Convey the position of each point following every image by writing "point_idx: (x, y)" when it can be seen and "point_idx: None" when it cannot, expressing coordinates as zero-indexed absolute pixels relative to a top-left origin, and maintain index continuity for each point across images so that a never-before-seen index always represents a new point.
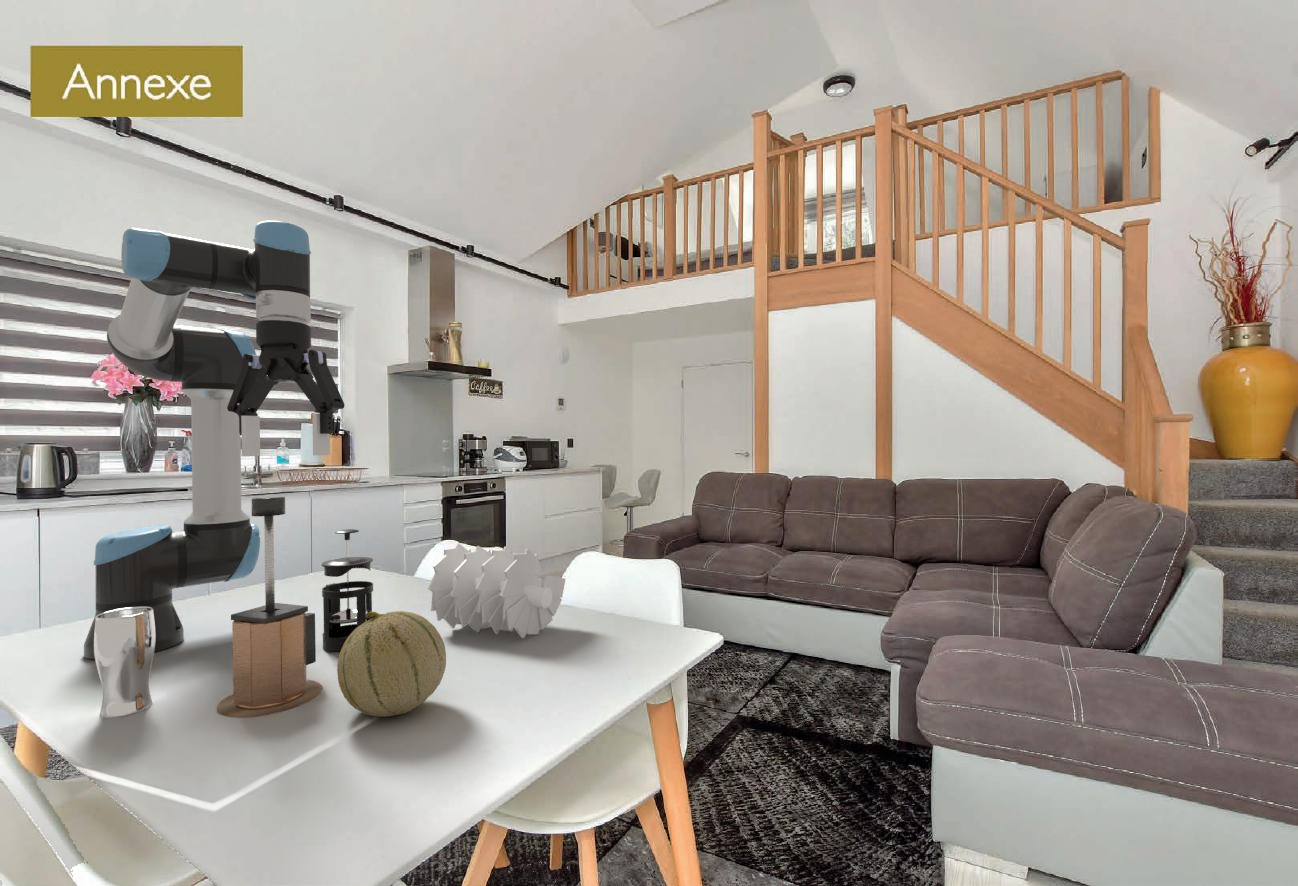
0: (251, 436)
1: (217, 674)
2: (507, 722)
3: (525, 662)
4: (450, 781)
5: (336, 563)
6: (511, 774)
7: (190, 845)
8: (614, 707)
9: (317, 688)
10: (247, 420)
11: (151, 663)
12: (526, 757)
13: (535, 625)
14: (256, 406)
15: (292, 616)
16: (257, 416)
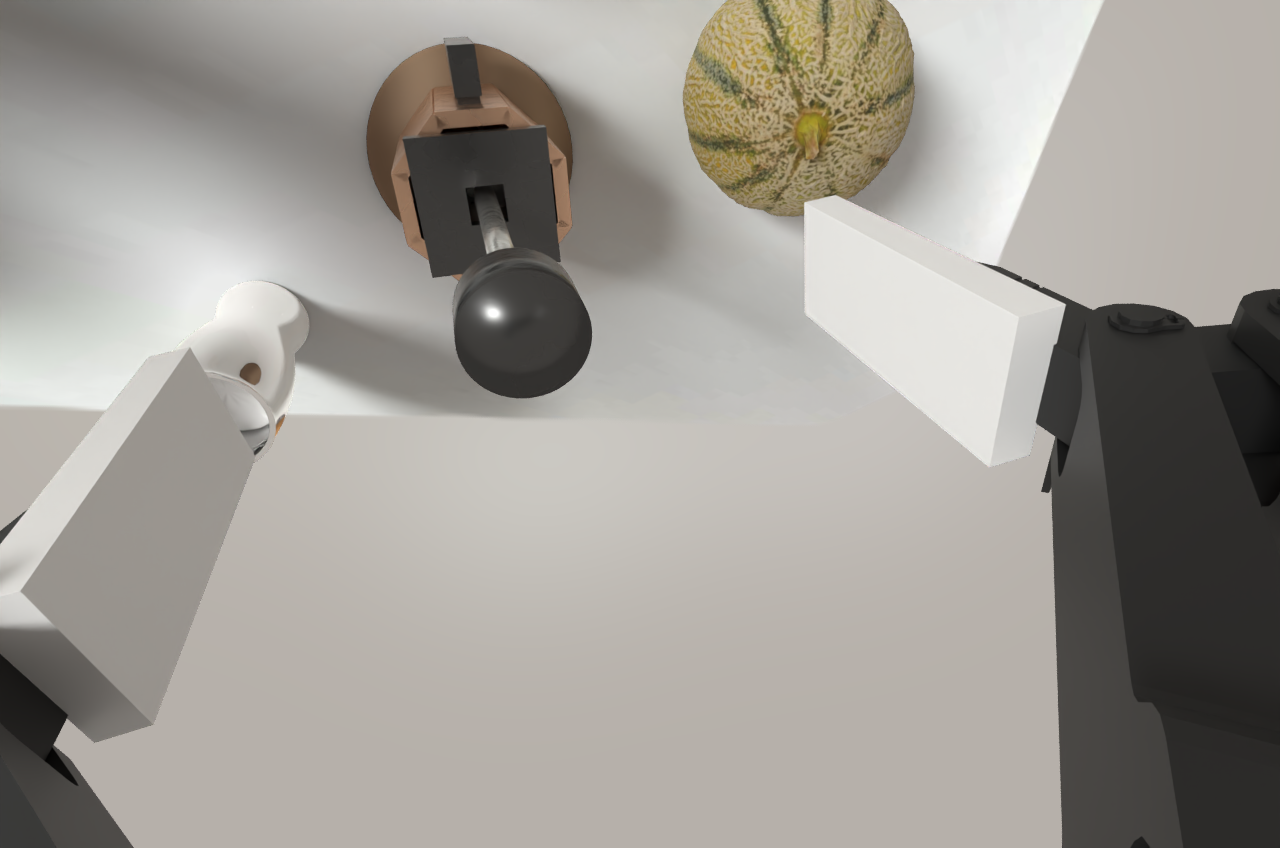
0: (188, 511)
1: (135, 96)
2: (967, 37)
3: None
4: (949, 226)
5: None
6: (1015, 179)
7: (762, 421)
8: None
9: (523, 78)
10: (152, 659)
11: (267, 325)
12: (1024, 131)
13: None
14: (15, 747)
15: (554, 181)
16: (45, 610)
